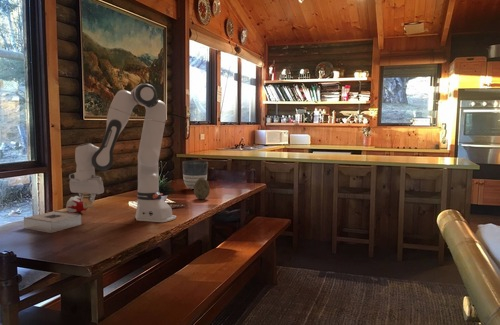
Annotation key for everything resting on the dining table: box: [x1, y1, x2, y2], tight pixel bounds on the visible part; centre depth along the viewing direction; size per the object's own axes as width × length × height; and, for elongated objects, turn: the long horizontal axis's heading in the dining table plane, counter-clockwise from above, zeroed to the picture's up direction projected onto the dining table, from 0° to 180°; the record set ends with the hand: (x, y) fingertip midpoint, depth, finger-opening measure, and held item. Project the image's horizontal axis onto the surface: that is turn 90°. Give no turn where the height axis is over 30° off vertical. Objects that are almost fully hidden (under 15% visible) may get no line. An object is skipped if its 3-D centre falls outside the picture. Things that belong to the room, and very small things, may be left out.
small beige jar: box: [82, 193, 94, 209], centre depth 216 cm, size 5×5×8 cm
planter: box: [182, 160, 209, 190], centre depth 325 cm, size 20×20×21 cm
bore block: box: [23, 210, 82, 234], centre depth 205 cm, size 18×18×5 cm
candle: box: [65, 195, 89, 214], centre depth 236 cm, size 9×11×15 cm
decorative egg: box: [193, 177, 211, 200], centre depth 284 cm, size 11×11×15 cm
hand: (87, 201), depth 216 cm, fingers closed on small beige jar, 5 cm apart
